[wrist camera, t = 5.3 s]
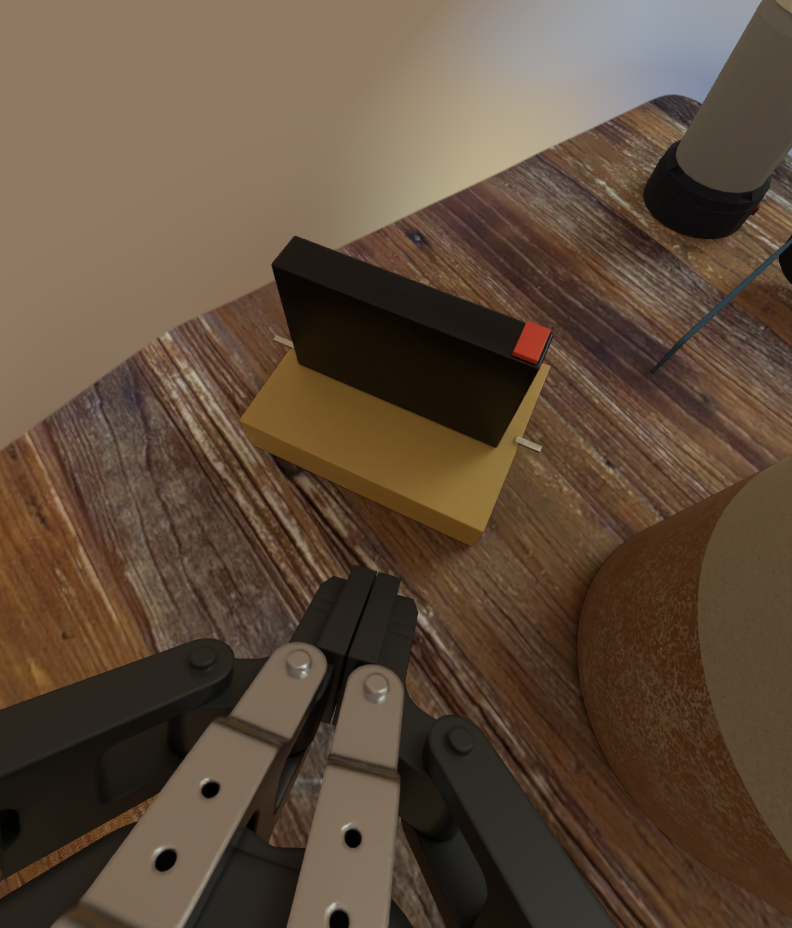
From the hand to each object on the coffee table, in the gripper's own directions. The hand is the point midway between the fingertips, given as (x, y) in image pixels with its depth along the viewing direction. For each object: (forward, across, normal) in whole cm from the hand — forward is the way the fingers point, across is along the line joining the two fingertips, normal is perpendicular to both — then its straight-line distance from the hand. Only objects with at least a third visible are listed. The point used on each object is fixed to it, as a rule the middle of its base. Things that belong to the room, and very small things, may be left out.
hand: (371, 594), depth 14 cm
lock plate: (+15, +2, -1) cm, 15 cm away
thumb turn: (+13, +2, -3) cm, 14 cm away
